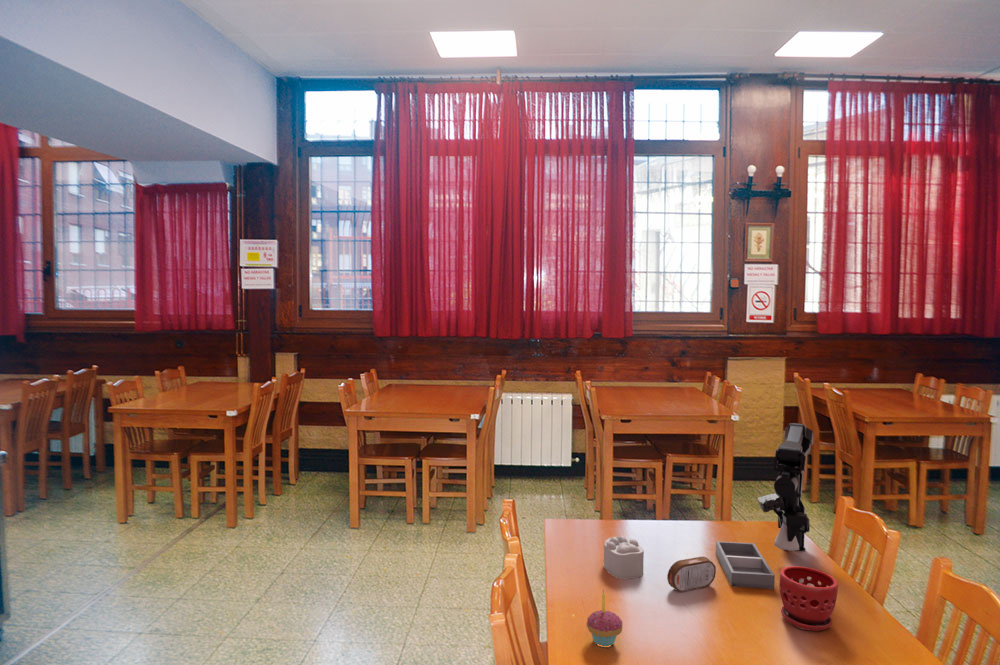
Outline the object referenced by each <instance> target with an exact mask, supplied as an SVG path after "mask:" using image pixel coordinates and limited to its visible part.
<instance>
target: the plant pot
mask: <svg viewBox="0 0 1000 665" xmlns="http://www.w3.org/2000/svg"><path fill="white" fill-rule="evenodd" d="M779 573H780V574H779V594H780V599H781V602H782V606H781V608H780V613H781V616H782V617H783V619H784V620H786V622H787V623H789V624H791V625H792V626H794V627H797V629H801V630H805V631H812V632H818V631H824V630H827V629H829V628H830V627H831V625H832V623H833V621H832V617H831V615H833V612H834V609H835V607H836V603H837V599H838V598H837V596H838V588H839V583H838V581H837V580H836V578H834V577H833V576H832V575H830V574H829V573H826V572H824V571H821V570H819V569H816V568H812V567H806V566H797V565H796V566H792V565H791V566H786V567H783V568H782V569H781V570H780V572H779ZM808 578H810V579H808ZM800 580H803V582H800ZM819 583H820V584H819ZM809 584H810V585H813V586H810V585H809Z"/></svg>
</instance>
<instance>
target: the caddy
mask: <svg viewBox="0 0 1000 665" xmlns="http://www.w3.org/2000/svg"><path fill="white" fill-rule="evenodd" d="M715 555H716V557H717V559H718V561H719V564H720V565H721V567H722V569H723V572H724V574H725V576H726V578H727V580H728V582H729V584H730V586H731V587H737V588H752V589H766V590H767V589H769V590H775V580H776V578H775V577H776V576H775V573H774V572H773V570H772V569H771V566H769V564H768V562H767V561H766V559H765V558H764V556H763V555H762V553H761V552H760V550H759V549H758V547H757V545H756V544H755V543H754V542H740V541H739V542H738V541H722V540H721V541H720V540H716V541H715Z"/></svg>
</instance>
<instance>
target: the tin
mask: <svg viewBox="0 0 1000 665" xmlns="http://www.w3.org/2000/svg"><path fill="white" fill-rule="evenodd" d="M716 573H717V568H716V565H715V563H714V562H713V561H712V560H710V558H708V557H706V556H697V557H691V558H685V559H680V560H679V559H678V560H677V561H675V562H674V563H673V564H672V565H671V566H670V568H669V569H668V572H667V577H666V578H667V583H668V585H669V586H670V587H671V588H673V589H674V590H676V591H677V592H680V593H682V592H683V593H684V592H689V591H694V590H699V589H704V588H707V587H709V586H710V585H712V583H713V582H714V581H715V578H716Z"/></svg>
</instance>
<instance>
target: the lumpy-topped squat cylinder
mask: <svg viewBox="0 0 1000 665" xmlns="http://www.w3.org/2000/svg"><path fill="white" fill-rule="evenodd" d="M603 544H604V545H603V569H604V568H605V569H606V570H607V571H608V572H609V573H610V574H611V575H612V576H611V575H610V574H609V573H608V572H607V571H606V570H605V569H604V570H605V571H606V572H607V573H608V574H609V575H610V576H611V577H613V576H614V577H613V578H615V577H617V578H616V579H618V578H621V579H620V580H625V578H626V579H631V578H640V577H643V575H644V558H645V557H644V553H645V551H644V548H643V547H642V546H641V545H640V544H639V542H638V540H636V539H634V538H633V539H631V538H630V539H628V538H626V537H625V536H623V535H621V536H613V537H612V536H611V537H609V538H607V539H605V541H604V543H603Z"/></svg>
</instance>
